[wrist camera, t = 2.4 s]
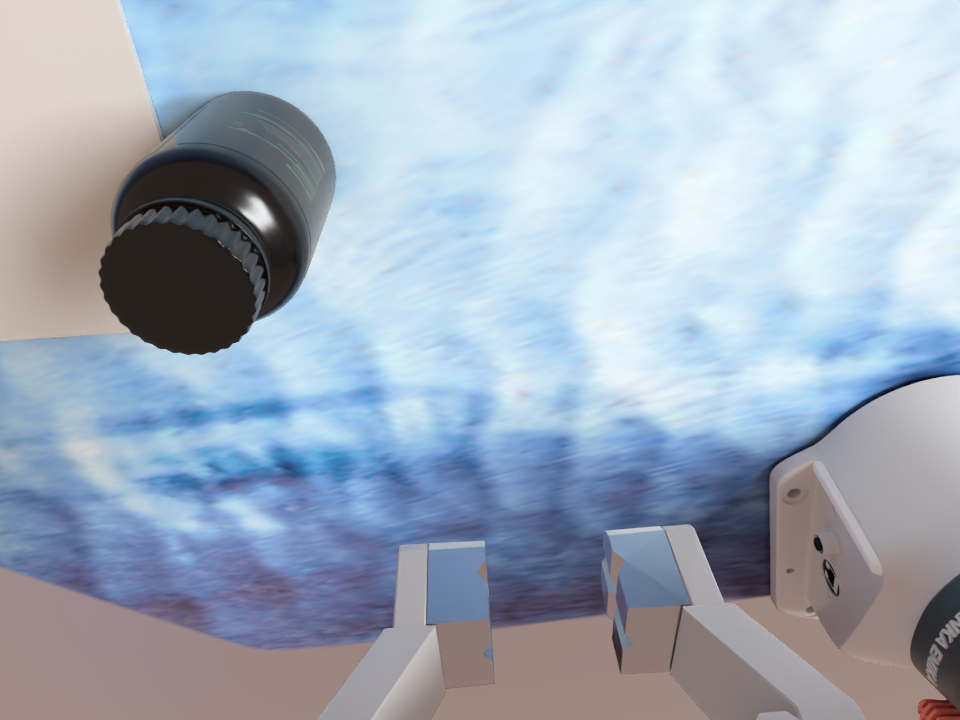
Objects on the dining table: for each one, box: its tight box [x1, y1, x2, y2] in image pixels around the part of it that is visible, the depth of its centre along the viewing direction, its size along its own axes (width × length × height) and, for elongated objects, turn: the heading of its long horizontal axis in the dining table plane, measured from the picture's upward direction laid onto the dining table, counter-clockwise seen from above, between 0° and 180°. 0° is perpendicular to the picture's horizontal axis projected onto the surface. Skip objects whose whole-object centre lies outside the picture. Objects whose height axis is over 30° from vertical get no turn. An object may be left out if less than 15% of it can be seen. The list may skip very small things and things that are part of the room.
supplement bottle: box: [98, 91, 336, 355], centre depth 26 cm, size 7×7×12 cm
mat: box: [0, 0, 164, 341], centre depth 31 cm, size 16×13×1 cm
